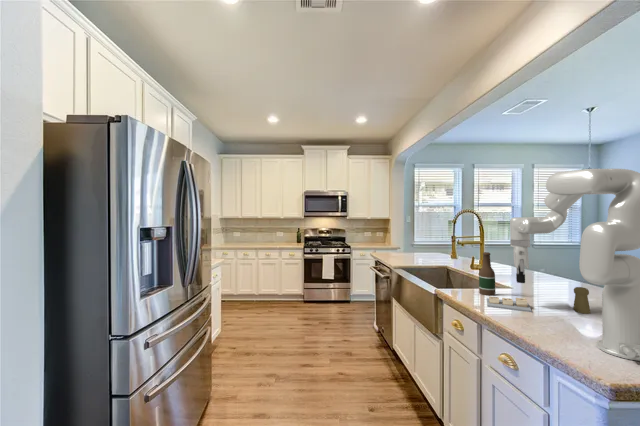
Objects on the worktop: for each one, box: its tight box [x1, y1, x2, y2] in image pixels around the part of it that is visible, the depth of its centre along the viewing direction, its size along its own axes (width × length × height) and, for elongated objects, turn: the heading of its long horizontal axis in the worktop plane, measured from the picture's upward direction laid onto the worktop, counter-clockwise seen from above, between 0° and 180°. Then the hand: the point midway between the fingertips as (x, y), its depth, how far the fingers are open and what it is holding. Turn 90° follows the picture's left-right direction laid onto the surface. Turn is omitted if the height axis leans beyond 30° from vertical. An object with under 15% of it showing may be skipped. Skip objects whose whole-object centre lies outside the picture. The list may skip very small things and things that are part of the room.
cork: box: [572, 286, 592, 315], centre depth 130 cm, size 6×6×11 cm
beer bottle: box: [478, 252, 496, 297], centre depth 156 cm, size 8×8×24 cm
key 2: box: [501, 297, 514, 306], centre depth 136 cm, size 4×4×4 cm
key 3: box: [488, 296, 500, 304], centre depth 139 cm, size 4×4×4 cm
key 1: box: [515, 297, 528, 307], centre depth 134 cm, size 4×4×4 cm
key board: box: [486, 297, 533, 313], centre depth 136 cm, size 13×17×2 cm
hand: (520, 282), depth 134 cm, fingers closed
